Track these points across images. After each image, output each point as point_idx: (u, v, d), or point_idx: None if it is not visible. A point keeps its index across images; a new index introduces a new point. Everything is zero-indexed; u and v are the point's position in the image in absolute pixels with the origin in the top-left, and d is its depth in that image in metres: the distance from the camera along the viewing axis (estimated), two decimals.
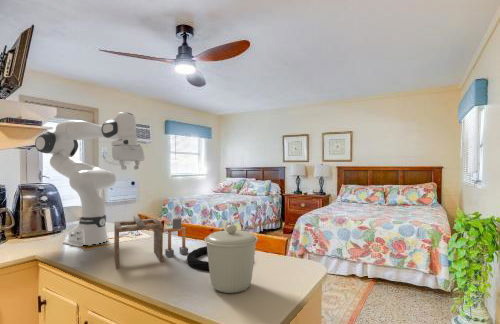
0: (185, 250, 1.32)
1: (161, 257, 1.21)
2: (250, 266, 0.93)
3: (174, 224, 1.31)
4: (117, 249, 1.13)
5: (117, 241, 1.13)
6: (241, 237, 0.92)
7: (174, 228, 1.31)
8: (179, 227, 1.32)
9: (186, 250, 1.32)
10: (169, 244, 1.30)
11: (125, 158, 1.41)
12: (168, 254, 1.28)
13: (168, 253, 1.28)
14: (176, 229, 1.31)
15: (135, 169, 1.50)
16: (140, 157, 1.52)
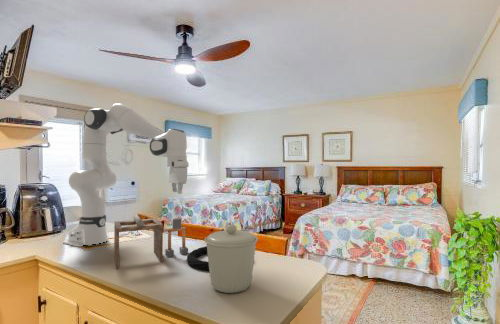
0: (185, 250, 1.32)
1: (161, 257, 1.21)
2: (250, 266, 0.93)
3: (174, 224, 1.31)
4: (117, 249, 1.13)
5: (117, 241, 1.13)
6: (241, 237, 0.92)
7: (174, 228, 1.31)
8: (179, 227, 1.32)
9: (186, 250, 1.32)
10: (169, 244, 1.30)
11: None
12: (168, 254, 1.28)
13: (168, 253, 1.28)
14: (176, 229, 1.31)
15: None
16: None
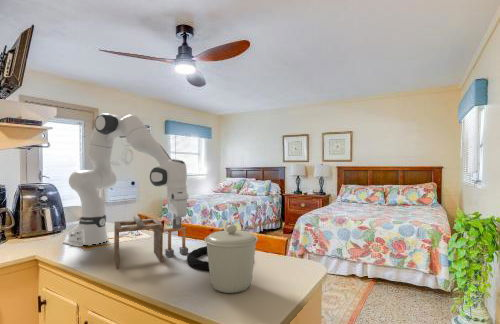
0: (185, 250, 1.32)
1: (161, 257, 1.21)
2: (250, 266, 0.93)
3: (174, 224, 1.31)
4: (117, 249, 1.13)
5: (117, 241, 1.13)
6: (241, 237, 0.92)
7: (174, 228, 1.31)
8: (179, 227, 1.32)
9: (186, 250, 1.32)
10: (169, 244, 1.30)
11: None
12: (168, 254, 1.28)
13: (168, 253, 1.28)
14: (176, 229, 1.31)
15: None
16: None
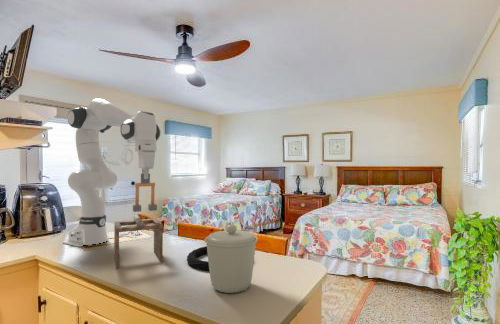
0: (154, 206, 1.26)
1: (161, 257, 1.21)
2: (250, 266, 0.93)
3: (142, 178, 1.25)
4: (117, 249, 1.13)
5: (117, 241, 1.13)
6: (241, 237, 0.92)
7: (142, 183, 1.25)
8: (148, 182, 1.26)
9: (154, 206, 1.26)
10: (136, 199, 1.24)
11: None
12: (135, 209, 1.22)
13: (135, 208, 1.22)
14: (144, 184, 1.25)
15: None
16: None
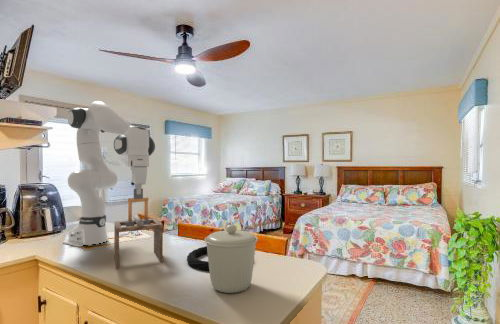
0: (147, 222, 1.24)
1: (161, 257, 1.21)
2: (250, 266, 0.93)
3: (135, 194, 1.23)
4: (117, 249, 1.13)
5: (117, 241, 1.13)
6: (241, 237, 0.92)
7: (135, 198, 1.23)
8: (141, 197, 1.24)
9: (148, 221, 1.24)
10: (129, 215, 1.22)
11: None
12: (128, 225, 1.20)
13: (128, 224, 1.20)
14: (137, 199, 1.24)
15: None
16: None
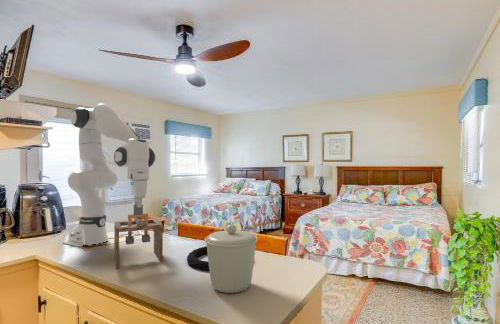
0: (147, 238, 1.24)
1: (161, 257, 1.21)
2: (250, 266, 0.93)
3: (135, 210, 1.23)
4: (117, 249, 1.13)
5: (117, 241, 1.13)
6: (241, 237, 0.92)
7: (135, 214, 1.23)
8: (140, 213, 1.24)
9: (147, 237, 1.24)
10: (129, 231, 1.22)
11: None
12: (127, 242, 1.20)
13: (127, 241, 1.20)
14: (137, 215, 1.23)
15: (137, 205, 1.26)
16: None
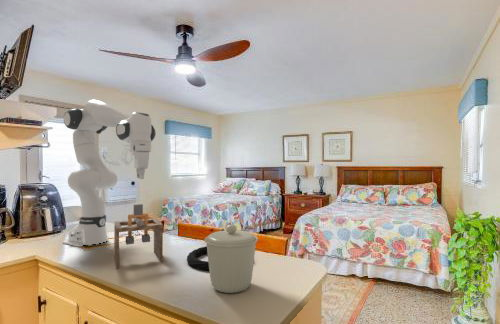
0: (147, 238, 1.24)
1: (161, 257, 1.21)
2: (250, 266, 0.93)
3: (135, 210, 1.23)
4: (117, 249, 1.13)
5: (117, 241, 1.13)
6: (241, 237, 0.92)
7: (135, 214, 1.23)
8: (140, 213, 1.24)
9: (147, 237, 1.24)
10: (129, 231, 1.22)
11: None
12: (127, 242, 1.20)
13: (127, 241, 1.20)
14: (137, 215, 1.23)
15: None
16: None
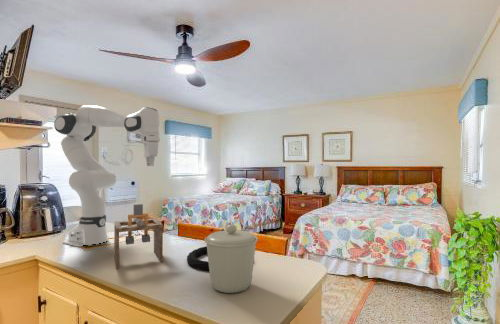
0: (147, 238, 1.24)
1: (161, 257, 1.21)
2: (250, 266, 0.93)
3: (135, 210, 1.23)
4: (117, 249, 1.13)
5: (117, 241, 1.13)
6: (241, 237, 0.92)
7: (135, 214, 1.23)
8: (140, 213, 1.24)
9: (147, 237, 1.24)
10: (129, 231, 1.22)
11: None
12: (127, 242, 1.20)
13: (127, 241, 1.20)
14: (137, 215, 1.23)
15: (148, 165, 1.49)
16: None
